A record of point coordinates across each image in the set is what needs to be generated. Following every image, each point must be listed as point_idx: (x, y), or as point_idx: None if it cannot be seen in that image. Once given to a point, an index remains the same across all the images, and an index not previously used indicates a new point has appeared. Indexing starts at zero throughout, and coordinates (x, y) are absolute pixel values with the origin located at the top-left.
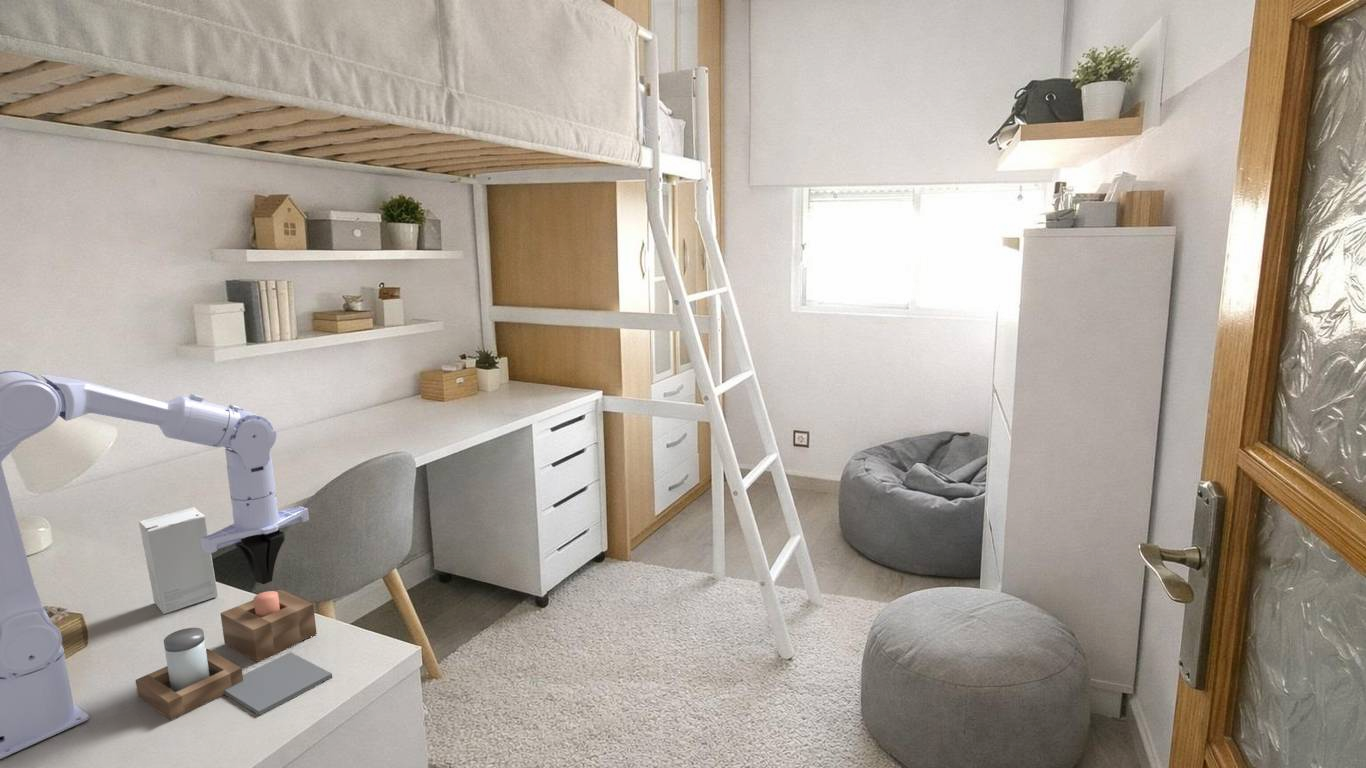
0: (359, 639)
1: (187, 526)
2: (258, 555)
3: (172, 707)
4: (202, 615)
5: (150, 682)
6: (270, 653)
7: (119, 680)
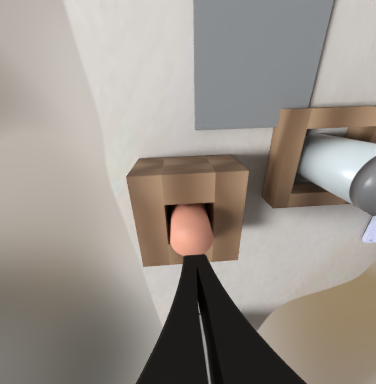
0: (93, 77)
1: None
2: (255, 347)
3: None
4: None
5: None
6: (212, 156)
7: (318, 237)
